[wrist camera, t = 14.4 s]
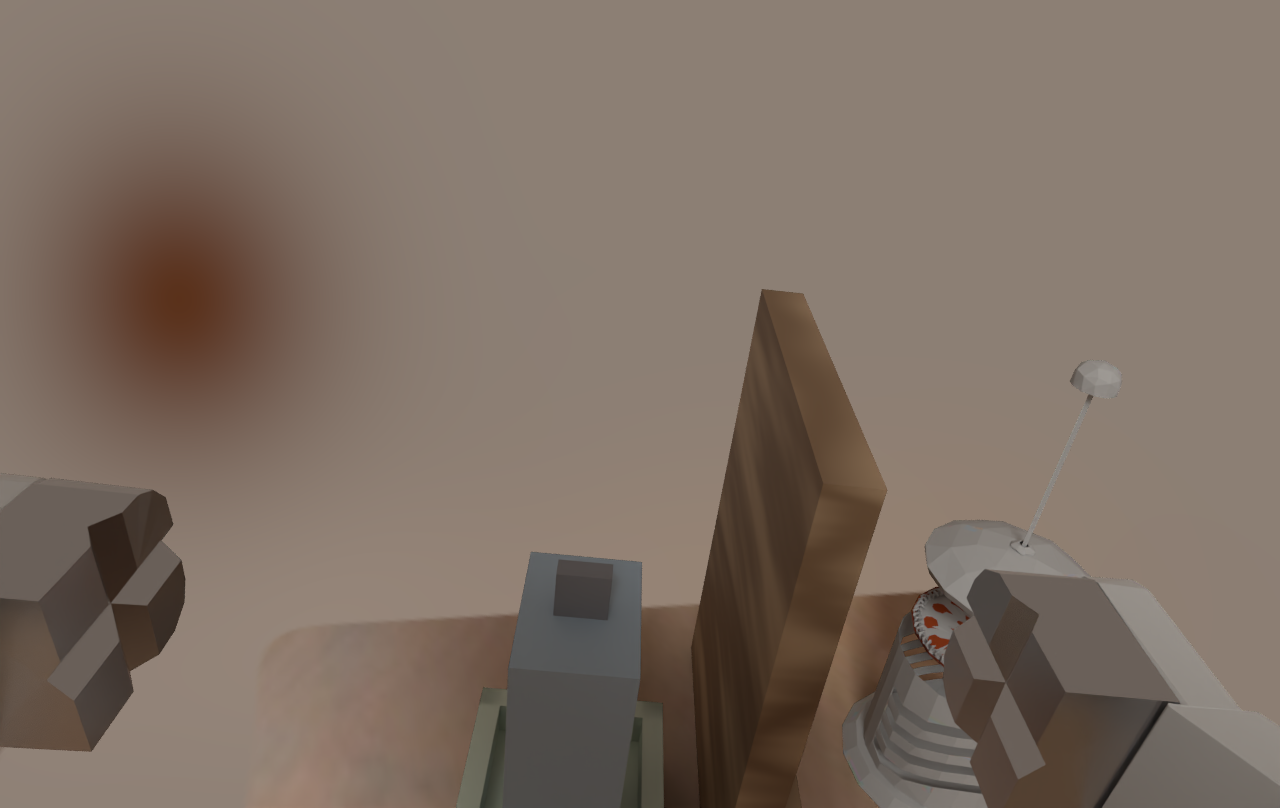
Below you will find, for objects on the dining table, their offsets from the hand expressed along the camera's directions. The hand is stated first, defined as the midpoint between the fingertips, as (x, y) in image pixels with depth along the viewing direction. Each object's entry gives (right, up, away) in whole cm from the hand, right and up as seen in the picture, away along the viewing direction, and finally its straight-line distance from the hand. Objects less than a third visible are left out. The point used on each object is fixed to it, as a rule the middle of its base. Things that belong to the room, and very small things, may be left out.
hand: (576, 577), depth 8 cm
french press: (+18, -19, +37) cm, 45 cm away
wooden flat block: (+6, -18, +35) cm, 40 cm away
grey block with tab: (-3, -17, +28) cm, 33 cm away
